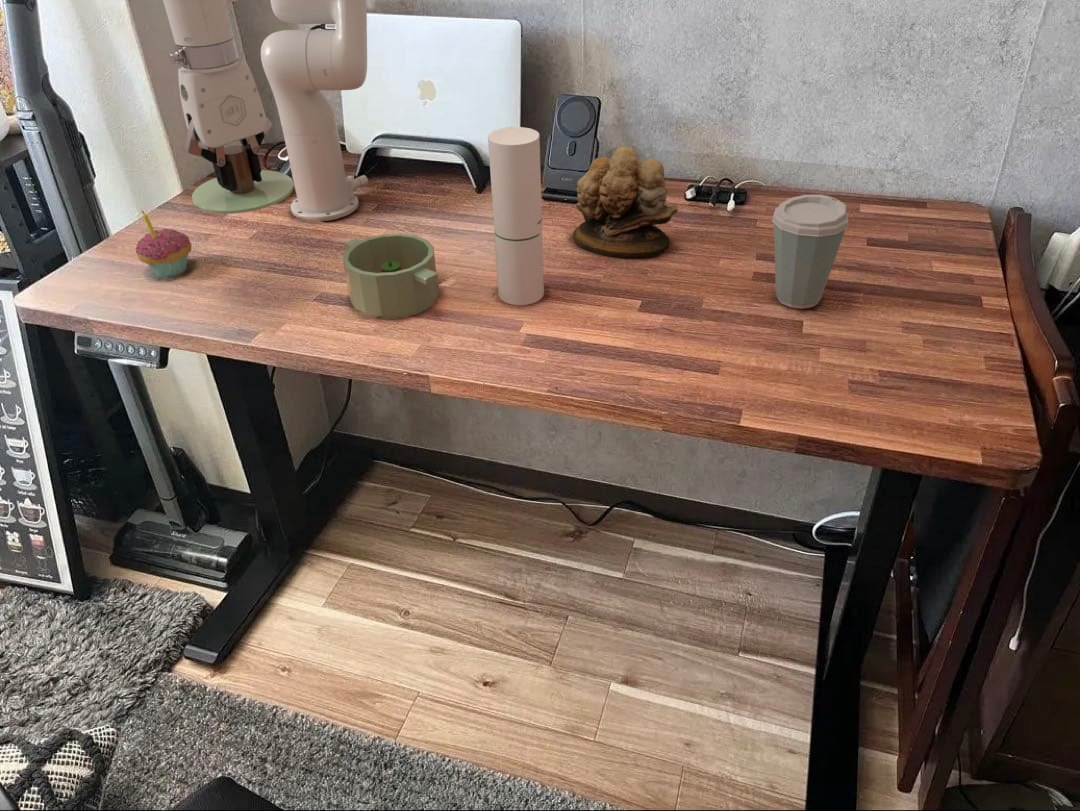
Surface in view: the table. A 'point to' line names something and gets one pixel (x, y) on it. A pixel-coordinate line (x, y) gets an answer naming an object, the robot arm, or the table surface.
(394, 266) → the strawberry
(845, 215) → the disposable coffee cup
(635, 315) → the table surface
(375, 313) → the pot
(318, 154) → the robot arm
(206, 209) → the lid
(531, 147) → the cylindrical container
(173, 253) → the sprinkled cake with candle
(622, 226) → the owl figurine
